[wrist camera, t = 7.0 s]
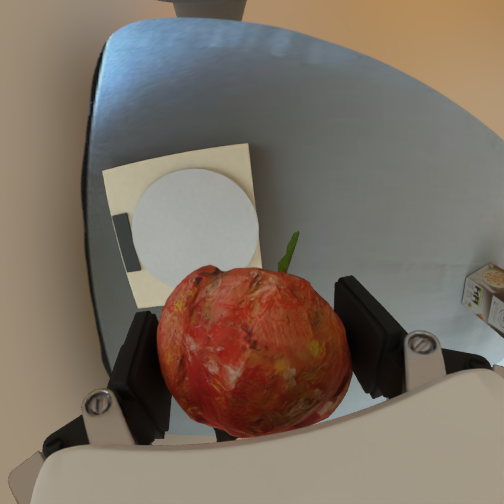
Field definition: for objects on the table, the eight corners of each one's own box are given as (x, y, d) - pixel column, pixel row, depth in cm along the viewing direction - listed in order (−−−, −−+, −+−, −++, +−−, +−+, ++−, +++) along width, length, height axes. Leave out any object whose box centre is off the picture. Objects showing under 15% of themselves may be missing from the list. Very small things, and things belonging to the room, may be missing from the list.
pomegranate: (200, 201, 13) (97, 386, 9) (312, 139, 7) (135, 500, 3) (297, 280, 16) (227, 433, 12) (412, 274, 10) (329, 499, 7)
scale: (110, 168, 24) (98, 171, 21) (245, 143, 26) (249, 142, 22) (142, 297, 30) (136, 313, 27) (261, 280, 31) (266, 294, 28)
